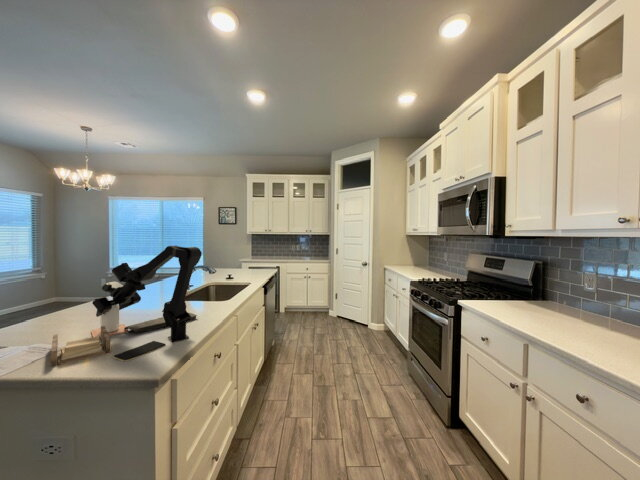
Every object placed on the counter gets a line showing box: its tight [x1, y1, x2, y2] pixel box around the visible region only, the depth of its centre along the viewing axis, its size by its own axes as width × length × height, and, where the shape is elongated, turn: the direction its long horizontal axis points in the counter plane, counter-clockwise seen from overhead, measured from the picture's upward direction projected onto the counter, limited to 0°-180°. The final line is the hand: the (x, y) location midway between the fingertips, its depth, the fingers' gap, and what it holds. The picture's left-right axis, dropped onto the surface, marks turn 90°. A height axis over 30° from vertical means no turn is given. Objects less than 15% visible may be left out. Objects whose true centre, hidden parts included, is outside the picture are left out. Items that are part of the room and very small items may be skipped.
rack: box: [50, 326, 111, 367], centre depth 98 cm, size 19×15×5 cm
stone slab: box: [124, 312, 198, 333], centre depth 127 cm, size 10×3×30 cm
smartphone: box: [112, 340, 166, 362], centre depth 98 cm, size 7×1×15 cm
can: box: [100, 304, 120, 333], centre depth 116 cm, size 6×6×12 cm
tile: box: [90, 323, 130, 339], centre depth 116 cm, size 12×12×1 cm
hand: (107, 312), depth 117 cm, fingers open, 9 cm apart
